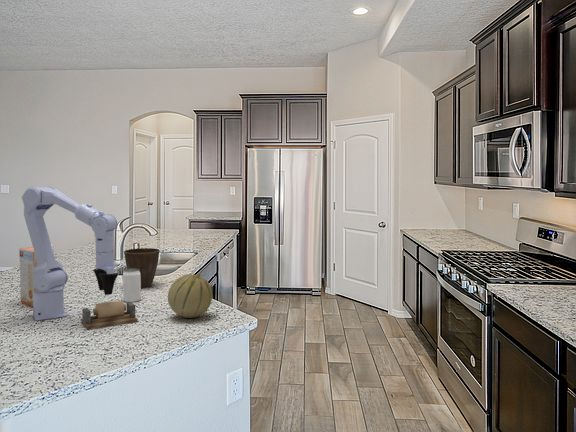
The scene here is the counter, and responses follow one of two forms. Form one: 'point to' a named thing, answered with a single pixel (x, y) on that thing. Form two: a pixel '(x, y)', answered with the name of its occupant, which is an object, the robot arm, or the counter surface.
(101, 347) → the counter surface
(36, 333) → the counter surface
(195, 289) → the cantaloupe
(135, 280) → the can
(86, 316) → the cradle
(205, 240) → the counter surface
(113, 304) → the bottle
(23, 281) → the cracker box
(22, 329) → the counter surface
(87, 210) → the robot arm
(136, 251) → the plant pot
